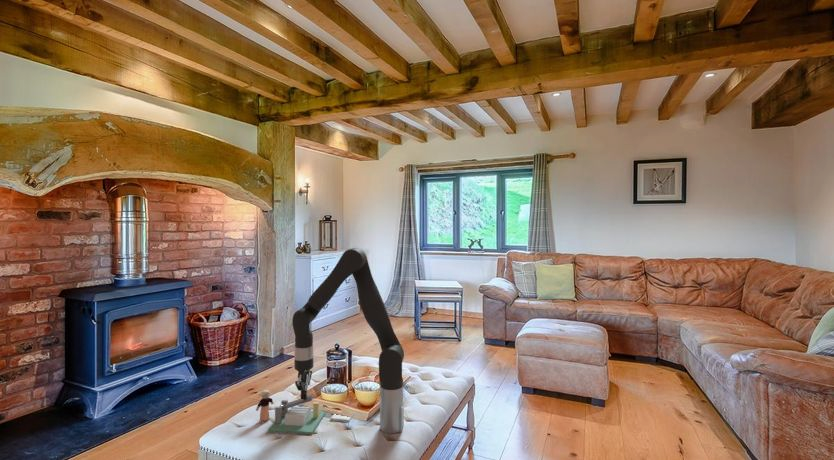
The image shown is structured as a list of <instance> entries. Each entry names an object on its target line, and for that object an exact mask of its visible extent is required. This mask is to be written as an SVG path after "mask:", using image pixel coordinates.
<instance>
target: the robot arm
mask: <svg viewBox="0 0 834 460" xmlns="http://www.w3.org/2000/svg"><path fill="white" fill-rule="evenodd" d="M351 275H352V277H353V278H354V281H355V283H356V289H357V297H358V301H359V305H360V306H359V307H360V309H361V312H362V315H363V316H364V319H365V320H366V322H367V324H368V325H369V327H370V328H371V329H372V330H373V332H374V333H375V335H376V337H377V339H378V342H379V345H380V348H381V349H380V350H381V352H380V354H379V357H378V379H379V428H380V431H381V432H382V433H384V434H385V433H386V434H389V435H390V434H396V433H403V429H404V425H405V423H404V422H405V421H404V417H405V415H404V414H405V405H404V404H405V402H404V378H403V361H404V358H405V351H404V349H403V346H402V344H401V343H400V341H399V338H398V337H397V335H396V333H395V331H394V327H393V326H392V323H391V320H390V316H389V313H388V310H387V308H386V306H385V302H384V300H383V298H382V295H381V293H380V291H379V289H378V286H377V284H376V282H375V280H374V277H373V275H372V271H371V268H370V264H369V261H368V257H367V254H366V252H365V251H363V249H361V248H359V247H351V248H348V249H347V250H345V251H344V252H343V253H342V255H341V256H340V258H339V260H338V261H337V263H336V265H335V266H334V267H333V270H332V271H331V272H330V273H329V275H328V276H327V277H326V278H325V279H324V281H322V283H321V284H320V285H319V286H318V287H317V288H316V290H314V292H313V293H312V294H311V295H310V296H309V298H308V301H307V302H306V303H305V304H304V305H303V306H302V307H301V308H300V309H298V310H297V311H296V310H295V312H294V313H293V316H292V319H291V320H292V321H291V322H292V323H291V324H292V327H293V328H292V329H293V333H294V336H295V338H294V353H293V354H294V357H293V359H294V360H293V361H294V370H295V371H297V372H298V373H297V380H296V381H295V382H294V385H295V387H296V389H297V390H298V391H300V399H306V398H307V397H308V389H309V386H310V384H311V380H312V375H313V370H312V369H313V368H314V341H313V340H314V334H313V331H311V330H310V324H311V323H312V322H313V321H314V320H315V319H316V318H317V317H318V315H319V314H320V312H321V311H322V310H323V309H324V307H325V306H326V305H328V303H329V302H330V301H331V299H332V298H334V296H335V294H336V293H337V291H338V289H339V288H340V287H341V285H342V284H343V283H344V282H345V281H346V280H347V279H348V278H349V277H350V276H351Z"/></svg>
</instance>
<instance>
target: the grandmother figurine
mask: <svg viewBox="0 0 834 460" xmlns="http://www.w3.org/2000/svg"><path fill="white" fill-rule="evenodd" d="M269 395H270V391H269V390H268V389H264V390H262V391H261V392H260V397H262V398H261V399H260V401H259V402H258V404H257V406H256V408H255V411H256V412H258V411H259V410H260V411H259V412H260V413H259V420H258V422H260V423H259V424H263V423H265V422H268V421H270V420H271V418H270V411H269V409H270V404H271V405H274V400H273V398H271V397H269Z"/></svg>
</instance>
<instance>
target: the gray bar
mask: <svg viewBox="0 0 834 460" xmlns="http://www.w3.org/2000/svg"><path fill="white" fill-rule="evenodd" d="M314 395H315V393H314V392H313V393H309V394H308V395H307V398H306V399H301V398H298V399H295V400H292V401H288V403H286V404H285V403H282V404H280V405H279V406H278V407H282V410H284V409H287V408H288V409H291V407H298V406H299V405H304V404H306V403H309V402H312V401H313V400H314V399H315V396H314Z"/></svg>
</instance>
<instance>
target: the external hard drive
mask: <svg viewBox="0 0 834 460" xmlns="http://www.w3.org/2000/svg"><path fill="white" fill-rule="evenodd" d="M329 419H330V421H335V422H343V423H344V422H345V423H350V421H351V420H352V418H351V417H347V416H341V415H336V414H334V413H333V414H332V416H331V417H330V418H329Z"/></svg>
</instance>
